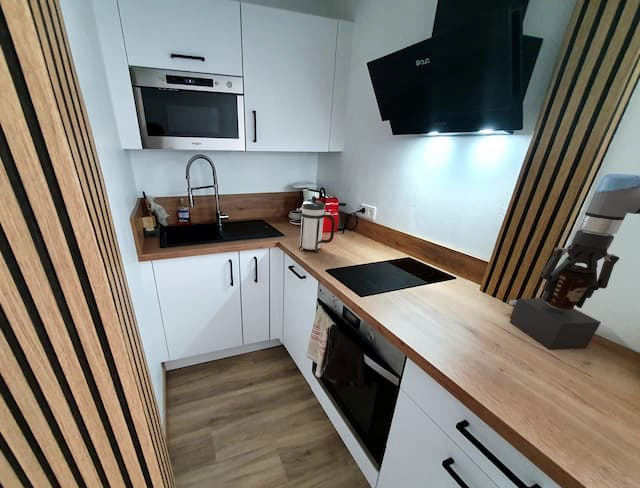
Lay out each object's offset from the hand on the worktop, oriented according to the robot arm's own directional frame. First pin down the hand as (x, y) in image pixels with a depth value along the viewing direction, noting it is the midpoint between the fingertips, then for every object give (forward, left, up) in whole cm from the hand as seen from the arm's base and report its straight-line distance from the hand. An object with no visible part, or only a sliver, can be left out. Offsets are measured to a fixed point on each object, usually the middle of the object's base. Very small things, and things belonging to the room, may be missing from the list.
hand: (561, 302), depth 89 cm
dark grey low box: (0, 0, -12) cm, 12 cm away
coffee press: (+95, -42, -12) cm, 105 cm away
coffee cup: (0, 0, -1) cm, 1 cm away
